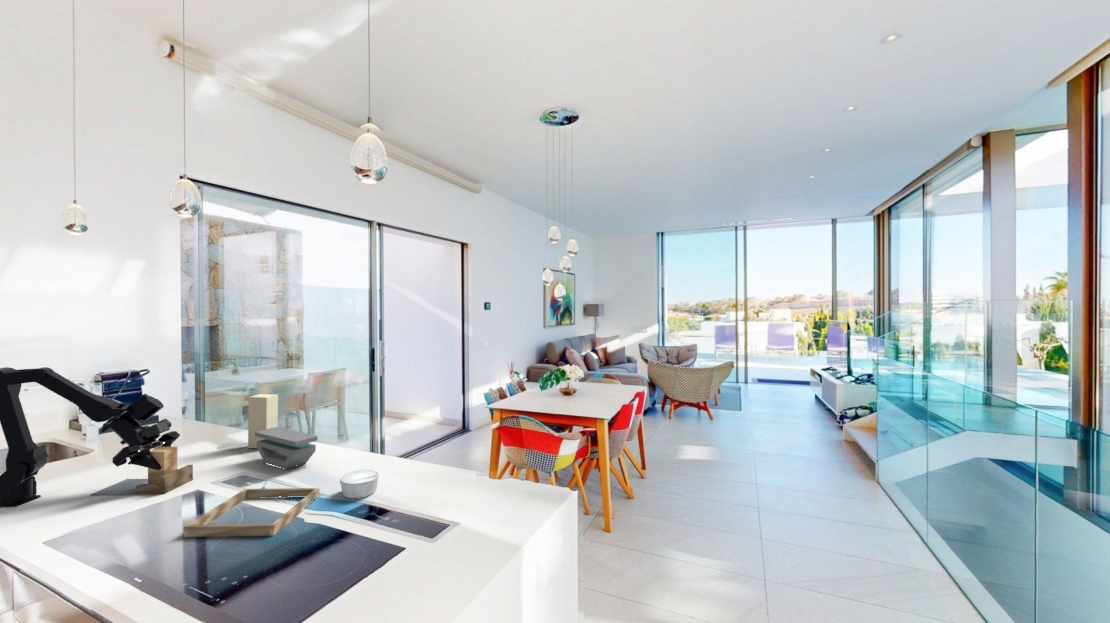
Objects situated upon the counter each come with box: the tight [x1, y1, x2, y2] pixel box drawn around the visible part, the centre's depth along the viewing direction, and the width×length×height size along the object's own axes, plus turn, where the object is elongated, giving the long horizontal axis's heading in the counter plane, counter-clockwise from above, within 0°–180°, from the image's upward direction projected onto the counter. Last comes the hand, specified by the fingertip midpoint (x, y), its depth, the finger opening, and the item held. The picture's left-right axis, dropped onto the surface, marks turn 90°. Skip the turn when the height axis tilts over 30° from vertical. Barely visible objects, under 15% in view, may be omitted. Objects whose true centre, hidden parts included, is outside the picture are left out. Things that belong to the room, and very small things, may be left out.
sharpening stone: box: [255, 426, 318, 470], centre depth 161 cm, size 25×8×11 cm, turn 62°
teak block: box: [147, 446, 179, 484], centre depth 140 cm, size 5×5×12 cm
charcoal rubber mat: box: [89, 478, 148, 496], centre depth 140 cm, size 12×12×1 cm
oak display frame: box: [183, 487, 321, 538], centre depth 122 cm, size 23×22×2 cm
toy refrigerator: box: [247, 393, 279, 448], centre depth 181 cm, size 8×7×21 cm
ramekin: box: [339, 469, 380, 499], centre depth 137 cm, size 11×11×5 cm
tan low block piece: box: [135, 464, 194, 495], centre depth 140 cm, size 11×8×5 cm
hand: (167, 466), depth 140 cm, fingers closed on teak block, 5 cm apart
